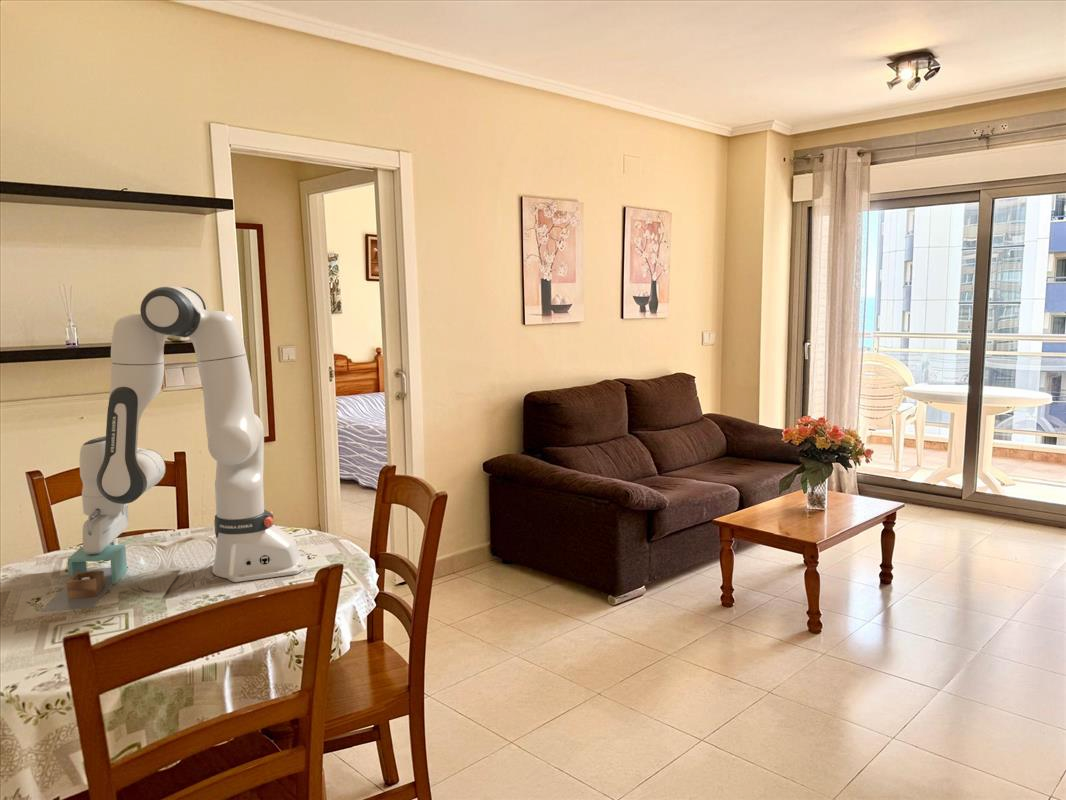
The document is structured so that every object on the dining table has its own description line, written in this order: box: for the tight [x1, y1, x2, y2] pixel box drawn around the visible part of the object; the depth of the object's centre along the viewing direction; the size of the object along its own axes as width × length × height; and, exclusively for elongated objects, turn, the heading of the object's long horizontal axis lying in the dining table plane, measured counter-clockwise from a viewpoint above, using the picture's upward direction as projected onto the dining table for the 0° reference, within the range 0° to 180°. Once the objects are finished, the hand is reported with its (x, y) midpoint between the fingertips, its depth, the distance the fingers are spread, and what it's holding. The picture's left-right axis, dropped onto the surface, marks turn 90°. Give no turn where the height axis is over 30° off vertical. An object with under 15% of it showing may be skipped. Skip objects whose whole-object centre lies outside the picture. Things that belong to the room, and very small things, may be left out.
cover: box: [67, 544, 128, 585], centre depth 175 cm, size 10×8×6 cm
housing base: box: [41, 566, 129, 612], centre depth 171 cm, size 10×24×4 cm, turn 12°
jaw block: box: [66, 571, 105, 599], centre depth 167 cm, size 6×6×4 cm
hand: (108, 558), depth 181 cm, fingers closed
